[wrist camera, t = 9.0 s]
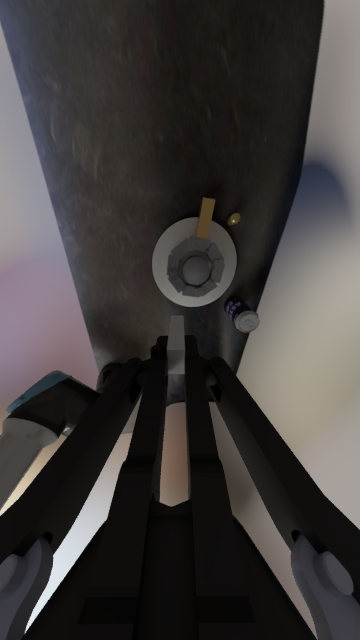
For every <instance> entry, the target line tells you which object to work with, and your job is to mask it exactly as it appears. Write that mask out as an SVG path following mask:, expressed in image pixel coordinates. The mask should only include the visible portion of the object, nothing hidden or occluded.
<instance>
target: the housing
mask: <svg viewBox="0 0 360 640" xmlns="http://www.w3.org/2000/svg"><path fill="white" fill-rule="evenodd" d="M197 220H198V217H193V218H187V219H183V220H180V221H178V222H176V223H175V224H173V225H172V226H170V227H169V228H168V229H167V230H166V231H165V232H164V233H163V234H162V235H161V237H160V238H159V240H158V242H157V244H156V246H155V249H154V252H153V258H152V270H153V275H154V279H155V281H156V284H157V286H158V287H159V289H160V290H161V292H162V293H163V294H164V295H165V296H166V297H167V298H168V299H170V300H171V301H173V302H175V303H177V304H179V305H183V306H188V307H197V306H202V305H206V304H209V303H211V302H213V301H214V300H216V299H217V298H219V297H220V296H221V295H222V294H223V293H224V292H225V291H226V290H227V288H228V287H229V285H230V283H231V282H232V279H233V277H234V274H235V270H236V263H237V257H236V250H235V246H234V243H233V241H232V239H231V237H230V236H229V234H228V233H227V232H226V230H225V229H224V228H223V227H221V226H220V225H219V224H217V223H216V222H214V221H212V220H211V224H210V229H209V234H208V239H210V240H211V243H212V242H215V244H216V245H217V247H218V249H219V251H220V252H221V254H222V256H223V258H224V259H225V260H224V264H225V267H224V270H223V274H222V278H221V282H220V283H216V282H215V283H216V285H217V286H218V287H216V288H215V289H213V290H212V291H210V292H209V293H207V294H206V295H205V296H203V297H202V296H200V297H199V298H198V297H191V296H184V295H182V291H181V292H180V293H178V292H177V291H176V289H175V288H174V287H173V285H172V284H171V283H170V282H169V280H168V277H169V276H168V275H167V265H168V255H169V254H170V255H173V254H172V253H171V250H173V249H174V248H175V247H176V246H177V245H178V244H180V243H181V242H182V241H183V240H184V239H186V238H187V239H188V240H190V237H191V236H192V237H195V232H196V226H197ZM211 243H210V244H211ZM211 264H212V263H211V262H210V260H209V258H208V257H207V255H206V253H205V252H203V251H197V250H192V251H189V252H188V253H187V254H185V255H184V256H183V257H182V258H180V259H179V265H178V272H177V273H178V274H179V275H180V277H181V278H182V279H183V281H184V282H185V283H189V284H193V285H198V284H201V283H203V282H205V281H206V279H207V278H208V277H209V273H210V268H211Z"/></svg>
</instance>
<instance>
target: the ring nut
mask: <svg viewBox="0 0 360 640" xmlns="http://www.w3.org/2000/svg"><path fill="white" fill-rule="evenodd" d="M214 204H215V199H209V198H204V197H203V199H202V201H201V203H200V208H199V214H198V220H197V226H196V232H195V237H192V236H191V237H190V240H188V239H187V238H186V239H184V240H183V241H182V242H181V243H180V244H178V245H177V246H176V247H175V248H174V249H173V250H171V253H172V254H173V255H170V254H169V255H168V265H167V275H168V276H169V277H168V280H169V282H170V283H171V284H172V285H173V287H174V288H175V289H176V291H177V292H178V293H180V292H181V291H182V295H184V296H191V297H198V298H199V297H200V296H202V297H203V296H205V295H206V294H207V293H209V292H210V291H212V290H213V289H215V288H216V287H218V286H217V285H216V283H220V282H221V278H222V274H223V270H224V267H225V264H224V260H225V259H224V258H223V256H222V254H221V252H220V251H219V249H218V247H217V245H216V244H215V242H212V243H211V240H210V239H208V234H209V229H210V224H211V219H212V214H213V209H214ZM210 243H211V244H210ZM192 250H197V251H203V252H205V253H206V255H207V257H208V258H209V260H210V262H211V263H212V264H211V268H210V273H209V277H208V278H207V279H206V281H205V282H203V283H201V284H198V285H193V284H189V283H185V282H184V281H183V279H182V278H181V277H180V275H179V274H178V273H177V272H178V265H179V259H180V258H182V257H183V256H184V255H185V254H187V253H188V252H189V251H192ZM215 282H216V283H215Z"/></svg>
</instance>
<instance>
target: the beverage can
mask: <svg viewBox="0 0 360 640" xmlns="http://www.w3.org/2000/svg"><path fill="white" fill-rule="evenodd" d="M224 310H225V312H226V313H227V315H228V316H229V318H230V319H231V320H232V322H233V323H234V325H235V326H236V328H237V329H239V330H241V331H243V332H251V331H253V330H255V329H256V328H257V327H258V325H259V317H258V314H257V313H256V312H255V311H254V310H253V309H252V308H250V307H249V306H248V305H247V304H246V303H245V302H244V301H243V300H242V299H240V298H239V297H231V298H229V299H228V300H227V301H226V302H225V304H224Z"/></svg>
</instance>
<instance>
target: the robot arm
mask: <svg viewBox="0 0 360 640" xmlns="http://www.w3.org/2000/svg"><path fill="white" fill-rule="evenodd" d="M150 350H151V358H150V359H148V360H145V361H142V360H141V359H139V358H132V359H130V360H128V361H127V362H126V363H125V365H123V364H110V365H107V366H106V367H104V368H103V369H102V371H101V372H100V374H99V376H98V380H97V386H96V390H95V391H94V390H93V389H91V388H90V387H88V386H86V385H85V384H83V383H81V382H80V381H78V380H76V379H74V378H73V377H72V376H69V375H67V374H65V373H63V372H61V371H53V372H51V373H49V374H48V375H46V376H45V377H43V378H42V379H41V380H40V381H38V382H37V383H36V384H34V385H33V386H32V387H31V388H30V389H28V390H27V391H26V392H25V393H24V394H23V395H21V396H20V397H19V398H18V399H16V400H15V401H14V402H13V403H12V404H11V405H10V406H8V408H7V411H8V413H11V414H10V415H9V416H8V417H7V418H6V419H5V420H4V421H3V425H2V434H1V435H0V510H1V508H2V507H3V506H4V504H5V503H6V501H7V500H8V498H9V497H10V495H11V494H12V493H13V491H14V490H15V488H16V487H17V485H18V484H19V482H20V481H21V480H22V478H23V477H24V475H25V474H26V472H27V471H28V470H29V468H30V467H31V465H32V464H33V462H34V461H35V460H36V458H37V457H38V455H39V454H40V452H41V451H42V449H43V448H45V447H46V446H48V445H50V444H52V443H54V442H56V441H57V439H58V438H59V436H60V435H61V434H62V435H65V436H67V438H66V439H65V441H64V442H63V443H62V445H61V446H60V447H59V448H58V450H57V451H56V452H55V453H54V455H53V456H52V457H51V458H50V460H49V461H48V462H47V464H46V465H45V466H44V467H43V469H42V470H41V471H40V473H39V474H38V475H37V476H36V477H35V479H34V480H33V481H32V483H31V484H30V485H29V486H28V488H27V489H26V490H25V492H24V493H23V494H22V495H21V496H20V498H19V499H18V500H17V501H16V502H15V503H14V504H13V505H12V506H11V507H10V508H8V509H7V510H6V511H5V512H4V513H3V514H2V515H1V516H0V640H317V639H316V637H315V636H314V634H313V633H312V631H311V630H310V628H309V627H308V625H307V623H306V622H305V620H304V619H303V617H302V616H301V614H300V613H299V611H298V610H297V608H296V607H295V605H294V604H293V602H292V601H291V599H290V598H289V596H288V595H287V593H286V591H285V590H284V588H283V587H282V585H281V584H280V582H279V581H278V579H277V578H276V576H275V575H274V573H273V572H272V570H271V569H270V567H269V566H268V564H267V562H266V561H265V559H264V558H263V556H262V555H261V553H260V552H259V550H258V549H257V547H256V546H255V544H254V543H253V541H252V540H251V538H250V537H249V535H248V533H247V532H246V531H245V529H244V528H243V526H242V525H241V524H240V522H239V521H238V520H237V519H236V518H235V517H234V516H233V515H232V511H231V505H230V500H229V495H228V491H227V485H226V479H225V474H224V470H223V466H222V463H221V461H220V459H219V456H218V451H217V446H216V440H215V435H214V430H213V424H212V418H211V413H210V407H209V402H208V396H207V391H206V385H207V386H208V389H209V391H210V393H211V395H212V397H213V399H214V401H215V403H216V405H217V407H218V409H219V411H220V413H221V415H222V418H223V420H224V421H225V423H226V426H227V428H228V430H229V432H230V434H231V436H232V438H233V440H234V442H235V444H236V446H237V448H238V451H239V452H240V455H241V457H242V459H243V461H244V463H245V465H246V467H247V469H248V471H249V473H250V476H251V478H252V479H253V482H254V484H255V486H256V488H257V490H258V492H259V494H260V496H261V498H262V500H263V502H264V505H265V506H266V509H267V511H268V512H269V514H270V516H271V518H272V520H273V522H274V524H275V526H276V528H277V529H278V531H279V533H280V534H281V536H282V538H283V539H284V541H285V543H286V544H287V546H288V547H289V549H290V550H291V566H292V572H293V575H294V578H295V581H296V584H297V586H298V588H299V590H300V592H301V593H302V596H303V598H304V600H305V602H306V604H307V606H308V608H309V610H310V613H311V615H312V618H313V621H314V624H315V629H316V633H317V637H318V640H360V530H359V529H358V528H357V527H356V526H355V525H354V524H353V523H352V522H351V521H350V520H349V519H348V518H347V517H346V516H345V515H344V514H343V513H342V512H341V511H340V510H339V509H338V508H337V507H336V506H334V504H333V503H332V502H331V501H330V500H329V499H328V498H327V497H326V496H325V495H324V494H323V493H322V491H321V490H320V489H319V488H318V486H317V485H316V483H315V482H314V481H313V479H312V478H311V477H310V475H309V474H308V472H307V471H306V470H305V468H304V467H303V466H302V464H301V463H300V462H299V460H298V459H297V458H296V456H295V455H294V454H293V452H292V451H291V449H290V448H289V447H288V445H287V444H286V443H285V441H284V440H283V439H282V437H281V436H280V435H279V433H278V432H277V431H276V429H275V428H274V427H273V425H272V424H271V423H270V421H269V420H268V418H267V417H266V416H265V414H264V413H263V412H262V410H261V409H260V408H259V406H258V405H257V404H256V402H255V401H254V400H253V398H252V397H251V396H250V394H249V393H248V391H247V390H246V389H245V387H244V386H243V385H242V383H241V382H240V381H239V379H238V378H237V376H236V375H235V374H234V372H233V371H232V370H231V368H230V367H229V366H228V364H227V363H226V362H225V360H224V359H222V358H220V357H213V358H211V359H210V360H207V359H204V358H202V357H200V355H199V353H198V347H197V342H196V338H195V336H194V335H184V321H183V316H171V319H170V327H169V336H159V337H158V339H157V343H156V345H155V346H153V347H152V348H151V349H150ZM168 374H185V404H186V431H187V457H188V458H187V459H188V491H189V492H188V494H189V500H188V501H185V502H182V503H180V504H178V505H175V506H173V507H170V506H167V505H165V504H162V503H160V502H159V500H160V475H161V462H162V450H163V437H164V425H165V412H166V400H167V387H168ZM205 384H206V385H205ZM142 392H143V393H142ZM141 394H142V397H141V402H140V406H139V410H138V414H137V418H136V422H135V426H134V430H133V435H132V439H131V443H130V447H129V451H128V455H127V458H126V460H125V461H124V462H123V464H122V466H121V469H120V472H119V475H118V479H117V483H116V487H115V491H114V495H113V498H112V502H111V506H110V510H109V514H108V518H107V520H106V521H105V522H104V523H103V524H102V526H101V527H100V528H99V529H98V531H97V532H96V534H95V535H94V536H93V538H92V539H91V541H90V542H89V543H88V545H87V546H86V548H85V549H84V551H83V552H82V553H81V555H80V556H79V558H78V559H77V560H76V562H75V564H74V565H73V566H72V568H71V569H70V570H69V572H68V573H67V575H66V576H65V577H64V579H63V580H62V582H61V583H60V585H59V586H58V587H57V589H56V590H55V592H54V593H53V594H52V596H51V597H50V599H49V600H48V602H47V603H46V604H45V606H44V607H43V609H42V610H41V611H40V613H39V614H38V616H37V617H36V619H35V620H34V622H33V623H32V624H31V626H30V627H29V629H28V630H27V631H26V633H25V630H26V626H27V623H28V621H29V618H30V616H31V614H32V611H33V609H34V607H35V605H36V604H37V602H38V600H39V598H40V596H41V595H42V593H43V591H44V589H45V588H46V586H47V583H48V581H49V577H50V574H51V570H52V567H53V554H54V553H55V552H56V550H57V549H58V548H59V546H60V545H61V543H62V541H63V540H64V538H65V537H66V535H67V534H68V532H69V530H70V529H71V527H72V525H73V524H74V522H75V520H76V518H77V516H78V515H79V513H80V511H81V509H82V507H83V505H84V503H85V501H86V500H87V498H88V496H89V493H90V492H91V490H92V488H93V486H94V484H95V482H96V480H97V479H98V477H99V475H100V472H101V471H102V469H103V467H104V465H105V463H106V461H107V459H108V457H109V455H110V454H111V452H112V450H113V448H114V446H115V444H116V442H117V440H118V438H119V436H120V434H121V432H122V430H123V429H124V427H125V425H126V423H127V421H128V419H129V417H130V415H131V413H132V411H133V409H134V407H135V406H136V404H137V402H138V400H139V398H140V396H141ZM24 633H25V634H24Z"/></svg>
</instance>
